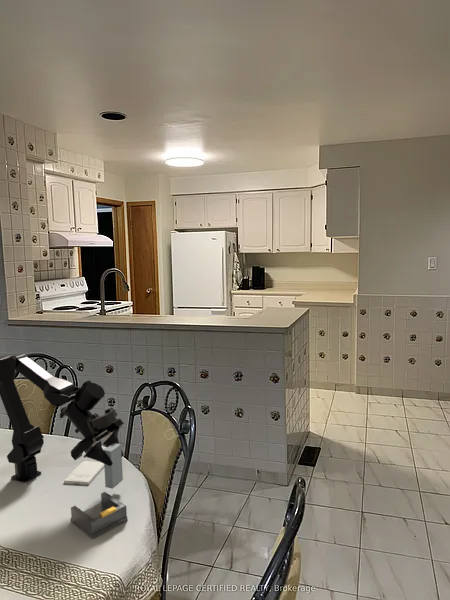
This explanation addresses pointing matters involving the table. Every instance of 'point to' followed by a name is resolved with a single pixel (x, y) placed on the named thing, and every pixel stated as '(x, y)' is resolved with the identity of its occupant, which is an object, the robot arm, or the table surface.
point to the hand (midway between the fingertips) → (117, 460)
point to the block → (113, 466)
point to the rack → (100, 516)
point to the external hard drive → (84, 473)
